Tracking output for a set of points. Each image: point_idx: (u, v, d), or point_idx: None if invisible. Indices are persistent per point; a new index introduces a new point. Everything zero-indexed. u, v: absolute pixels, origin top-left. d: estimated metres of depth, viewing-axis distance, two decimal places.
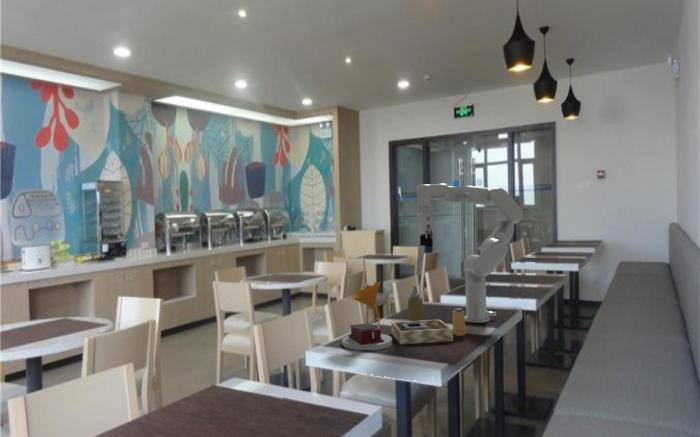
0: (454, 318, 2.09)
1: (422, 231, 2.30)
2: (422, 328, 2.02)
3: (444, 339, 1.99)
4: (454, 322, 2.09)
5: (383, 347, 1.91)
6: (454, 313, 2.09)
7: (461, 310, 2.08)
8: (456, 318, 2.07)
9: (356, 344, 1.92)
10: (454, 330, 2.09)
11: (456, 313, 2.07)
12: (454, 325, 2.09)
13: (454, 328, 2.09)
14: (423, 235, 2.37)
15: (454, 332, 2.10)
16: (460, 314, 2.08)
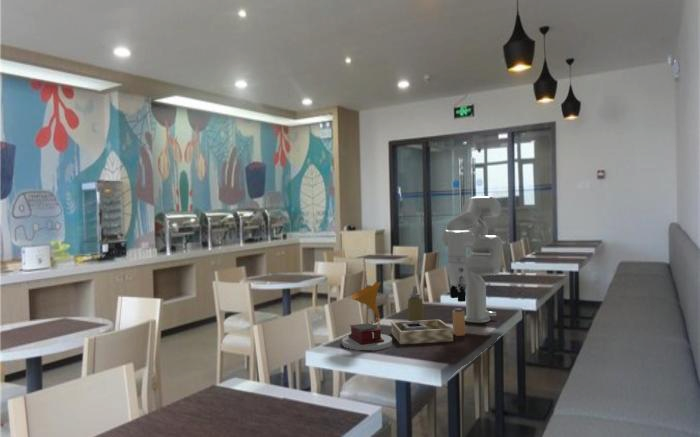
0: (454, 318, 2.09)
1: (454, 283, 2.07)
2: (422, 328, 2.02)
3: (444, 339, 1.99)
4: (454, 322, 2.09)
5: (383, 347, 1.91)
6: (454, 313, 2.09)
7: (461, 310, 2.08)
8: (456, 318, 2.07)
9: (356, 344, 1.92)
10: (454, 330, 2.09)
11: (456, 313, 2.07)
12: (454, 325, 2.09)
13: (454, 328, 2.09)
14: (454, 286, 2.14)
15: (454, 332, 2.10)
16: (460, 314, 2.08)
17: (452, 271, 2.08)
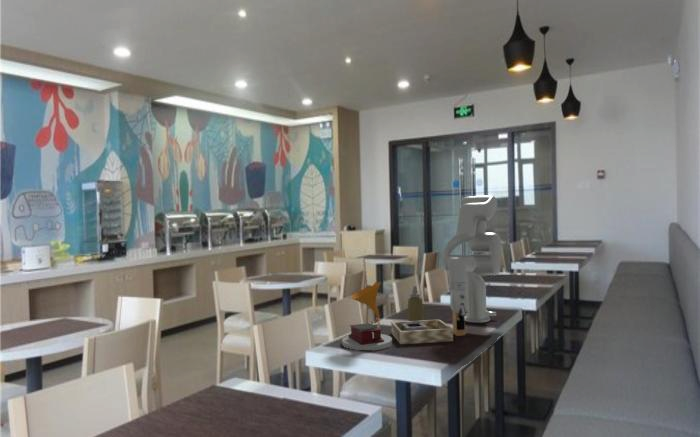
0: (454, 318, 2.09)
1: (455, 309, 2.07)
2: (422, 328, 2.02)
3: (444, 339, 1.99)
4: (454, 322, 2.09)
5: (383, 347, 1.91)
6: (454, 313, 2.09)
7: None
8: (456, 318, 2.07)
9: (356, 344, 1.92)
10: (454, 330, 2.09)
11: (456, 313, 2.07)
12: (454, 325, 2.09)
13: (454, 328, 2.09)
14: None
15: (454, 332, 2.10)
16: (460, 314, 2.08)
17: (453, 297, 2.08)
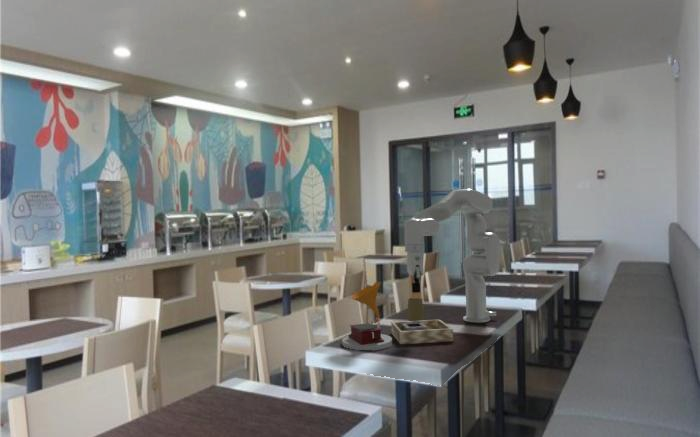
0: (410, 281, 2.06)
1: (410, 272, 2.04)
2: (422, 328, 2.02)
3: (444, 339, 1.99)
4: (410, 285, 2.05)
5: (383, 347, 1.91)
6: (410, 276, 2.05)
7: None
8: (412, 281, 2.04)
9: (356, 344, 1.92)
10: (410, 293, 2.06)
11: (411, 276, 2.04)
12: (410, 288, 2.06)
13: (410, 291, 2.06)
14: None
15: (410, 295, 2.06)
16: None
17: (409, 260, 2.05)
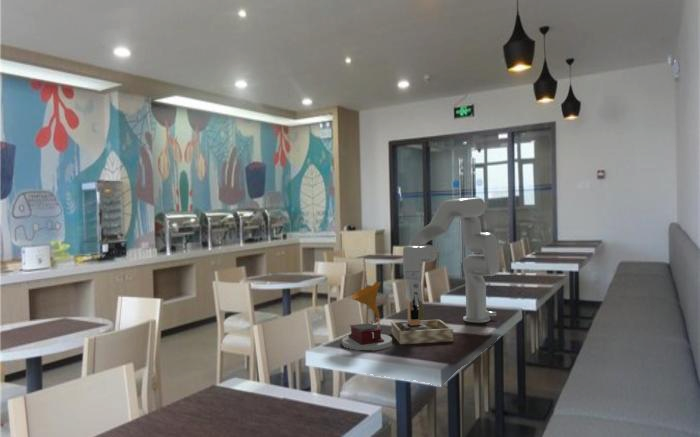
0: (408, 308, 2.06)
1: (409, 299, 2.04)
2: (422, 328, 2.02)
3: (444, 339, 1.99)
4: (409, 312, 2.05)
5: (383, 347, 1.91)
6: (408, 303, 2.05)
7: None
8: (410, 308, 2.04)
9: (356, 344, 1.92)
10: (408, 320, 2.06)
11: (410, 303, 2.04)
12: (408, 315, 2.06)
13: (408, 318, 2.06)
14: None
15: (408, 322, 2.06)
16: None
17: (407, 287, 2.05)
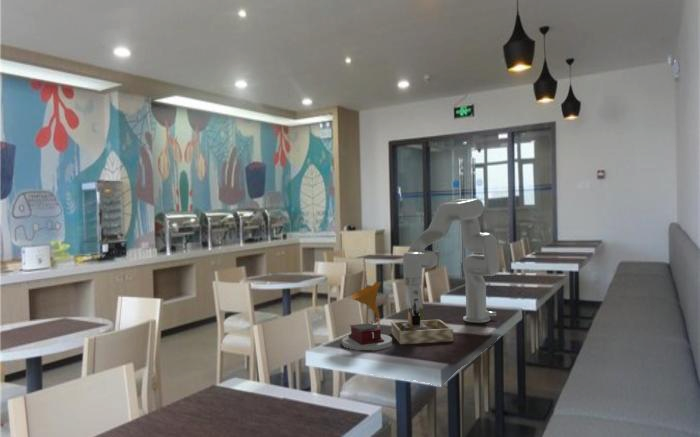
0: (409, 319, 2.06)
1: (409, 305, 2.04)
2: (422, 328, 2.02)
3: (444, 339, 1.99)
4: (409, 323, 2.05)
5: (383, 347, 1.91)
6: (409, 314, 2.05)
7: None
8: (411, 319, 2.04)
9: (356, 344, 1.92)
10: None
11: (410, 314, 2.04)
12: (409, 326, 2.06)
13: None
14: None
15: None
16: None
17: (407, 293, 2.05)
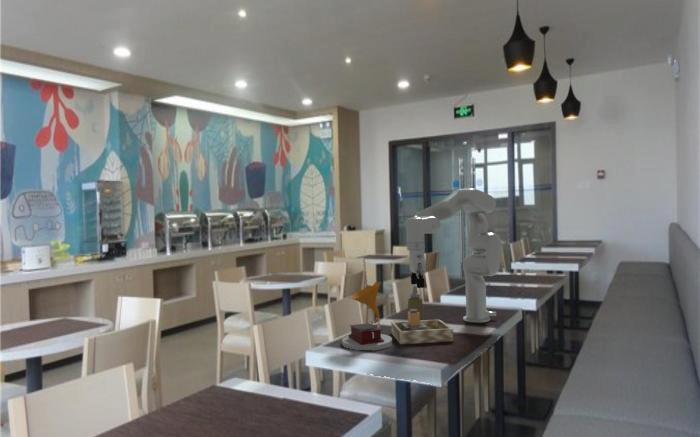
0: (409, 319, 2.06)
1: (413, 270, 2.08)
2: (422, 328, 2.02)
3: (444, 339, 1.99)
4: (409, 323, 2.05)
5: (383, 347, 1.91)
6: (409, 314, 2.05)
7: (416, 311, 2.05)
8: (411, 319, 2.04)
9: (356, 344, 1.92)
10: None
11: (410, 314, 2.04)
12: (409, 326, 2.06)
13: None
14: (414, 273, 2.15)
15: None
16: (415, 315, 2.04)
17: (411, 258, 2.08)
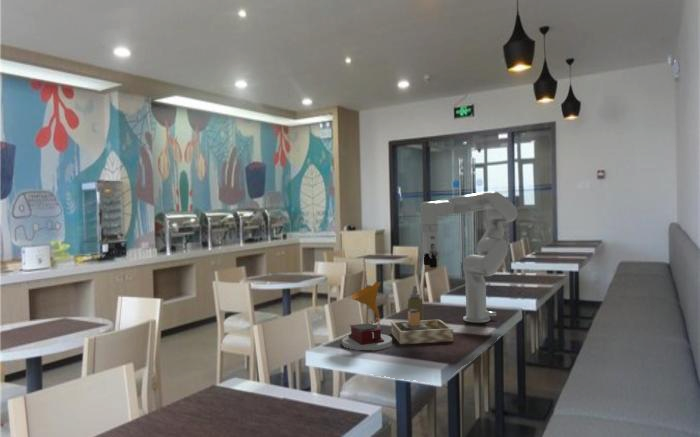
0: (409, 319, 2.06)
1: (426, 250, 2.20)
2: (422, 328, 2.02)
3: (444, 339, 1.99)
4: (409, 323, 2.05)
5: (383, 347, 1.91)
6: (409, 314, 2.05)
7: (416, 311, 2.05)
8: (411, 319, 2.04)
9: (356, 344, 1.92)
10: None
11: (410, 314, 2.04)
12: (409, 326, 2.06)
13: None
14: (427, 254, 2.27)
15: None
16: (415, 315, 2.04)
17: (424, 239, 2.21)
